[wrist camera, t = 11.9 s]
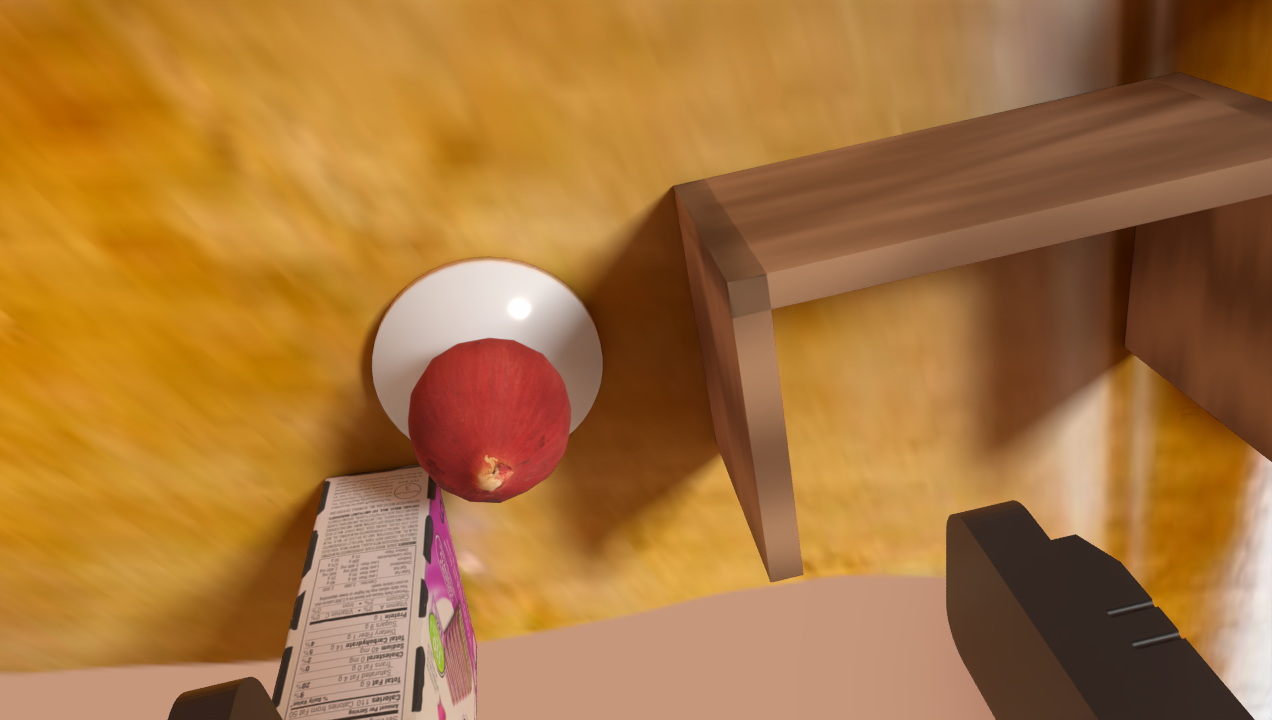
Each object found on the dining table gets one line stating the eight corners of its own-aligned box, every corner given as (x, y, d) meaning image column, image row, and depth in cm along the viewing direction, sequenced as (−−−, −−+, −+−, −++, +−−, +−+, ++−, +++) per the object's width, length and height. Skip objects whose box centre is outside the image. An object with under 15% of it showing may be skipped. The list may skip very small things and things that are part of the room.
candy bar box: (484, 644, 45) (484, 1014, 31) (379, 661, 44) (330, 1045, 30) (441, 453, 39) (417, 796, 25) (321, 472, 39) (227, 831, 25)
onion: (551, 437, 39) (565, 565, 32) (409, 424, 38) (392, 555, 31) (573, 311, 36) (595, 421, 29) (421, 293, 35) (406, 404, 28)
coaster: (342, 286, 35) (339, 295, 34) (575, 233, 35) (576, 241, 35) (413, 474, 40) (411, 485, 39) (619, 426, 40) (621, 436, 39)
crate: (673, 186, 35) (727, 282, 27) (1179, 72, 36) (1373, 134, 28) (716, 442, 41) (770, 582, 33) (1150, 341, 42) (1303, 454, 34)
